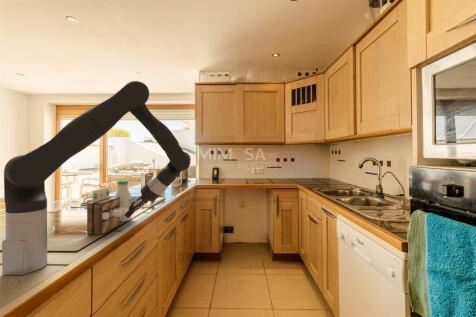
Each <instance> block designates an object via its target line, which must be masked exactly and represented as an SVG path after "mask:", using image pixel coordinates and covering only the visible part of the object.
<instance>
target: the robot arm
mask: <svg viewBox="0 0 476 317" xmlns="http://www.w3.org/2000/svg"><path fill="white" fill-rule="evenodd" d="M149 98H150V90H149V88H148V86H147V85H146V84H145V83H144V82H143V81H139V80H133V81H129V82H127V83H125V85H124V86H123V87H122V88H120V89H119V90H118V91H116V93H114V94H113V95H112V96H111V97H109V98H108V99H105V100H103V101H102V102H100V103H98V104H96V105H95V106H93V107H91V108H89V109H88V110H86V111H84V112H83V113H82V114H80V115H78V116H76V117H75V118H73V119H72V120H71V121H70V122H68V123H66V125H65V126H64V127H62V128H61V130H59V131H58V132H57V133H56V134H55V135H54V137H52V138H51V139H49V140H47V142H45V143H43V144H42V145H40V146H39V147H37V148H35V149H33V150H31V151H29V152H27V153H26V154H20V155H17V156H14V157H12V158H10V159H9V160H8V161H7V162H6V164H5V166H4V169H3V189H4V190H3V192H4V205H5V208H4V209H5V210H4V211H5V239H3V240H2V242H1V264H2V265H1V269H2V272H1V274H2V275H4V276H7V275H8V276H9V275H10V276H24V275H27V274H29V273H33V272H35V271H38V270H41V269H42V268H44V267H46V266H47V265H48V198H47V195H46V188H45V185H46V184H45V181H46V180H48V179H49V178H50V176H52V175H53V174H54V173H55V172H56V171H57V170H58V169H59V168H61V166H62V165H64V163H66V162H67V161H68V160H70V159H71V158H72V157H74V156H76V155H77V154H80V152H82V151H83V150H85V149H86V148H88V147H89V146H91V145H92V144H94V143H95V142H96V141H98V140H99V139H101V138H102V137H103V136H104V135H106V134H107V133H108V132H109V131H110V130H111V129H112V128H113V127H115V125H116V124H117V123H118V122H119V121H120V120H121V119H122V118H123V117H124V116H125V115H127V114H128V113H129V112H130V114H132V116H133V117H135V119H137V120H138V121H139V123H140V124H141V125H142V126H143V127H144V128H145V129H146V131H148V132H149V134H150V135H151V136H152V137H153V139H154V141H156V143H157V144H158V145H159V146H160V148H161V149H162V150H163V151H164V153H165V154H166V157H167V158H168V160H169V161H168V163H167V164H166V165H165V166H164V167H163V168H162V169H160V170H159V171H158V172H157V173H156V175H154V176H153V177H152V178H151V179H149V181H147V182H146V184H144V186H143V187H141V189H140V193H141V195H139V196H137V198H136V199H135V200H134V201H132V202H131V206H130V207H129V210H128V211H127V212H126V213H125V216H126V217H127V218H129V217H130V216H131V217H132V215H133V214H134V213H136V212H138V210H140V209H142V208H143V207H144V206H145V205H146V204H148V203H149V202H155V201H156V200H157V199H159V197H160V196H161V195H162V194H163V193H164V192H166V190H167V189H168V187H170V185H171V184H172V183H173V182H174V181H175V180H176V179H177V177H178V175H179V174H180V173H181V172H182V171H183V172H184V171H186V170H188V169H189V168H190V166H191V161H192V160H191V156H190V154H189V153H188V152H186V151H184V149H183V148H182V147H181V145H180V143H179V141H178V139H177V138H176V136H175V135H174V133H173V132H172V131H171V129H169V127H167V125H166V124H165V123H163V122H162V121H160V120H159V119H158V118H157V117H156V116H155V115H154V114H153V113H152V112H151V111H150V110H149V108H148V107H147V105H146V103H147V102H148V100H149Z"/></svg>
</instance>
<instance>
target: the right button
mask: <svg viewBox="0 0 476 317" xmlns="http://www.w3.org/2000/svg"><path fill="white" fill-rule="evenodd" d="M114 210H122V214H125V213H126V212H127V208H114Z"/></svg>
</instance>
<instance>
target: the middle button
mask: <svg viewBox="0 0 476 317" xmlns="http://www.w3.org/2000/svg"><path fill="white" fill-rule="evenodd" d="M108 213H109V214H110V217H121V216H122V210H109V211H108Z"/></svg>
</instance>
